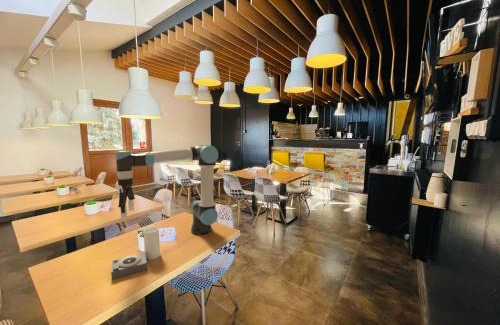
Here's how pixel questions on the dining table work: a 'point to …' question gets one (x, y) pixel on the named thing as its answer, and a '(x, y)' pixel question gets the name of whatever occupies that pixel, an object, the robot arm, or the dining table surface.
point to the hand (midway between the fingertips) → (128, 214)
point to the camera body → (128, 265)
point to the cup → (151, 243)
